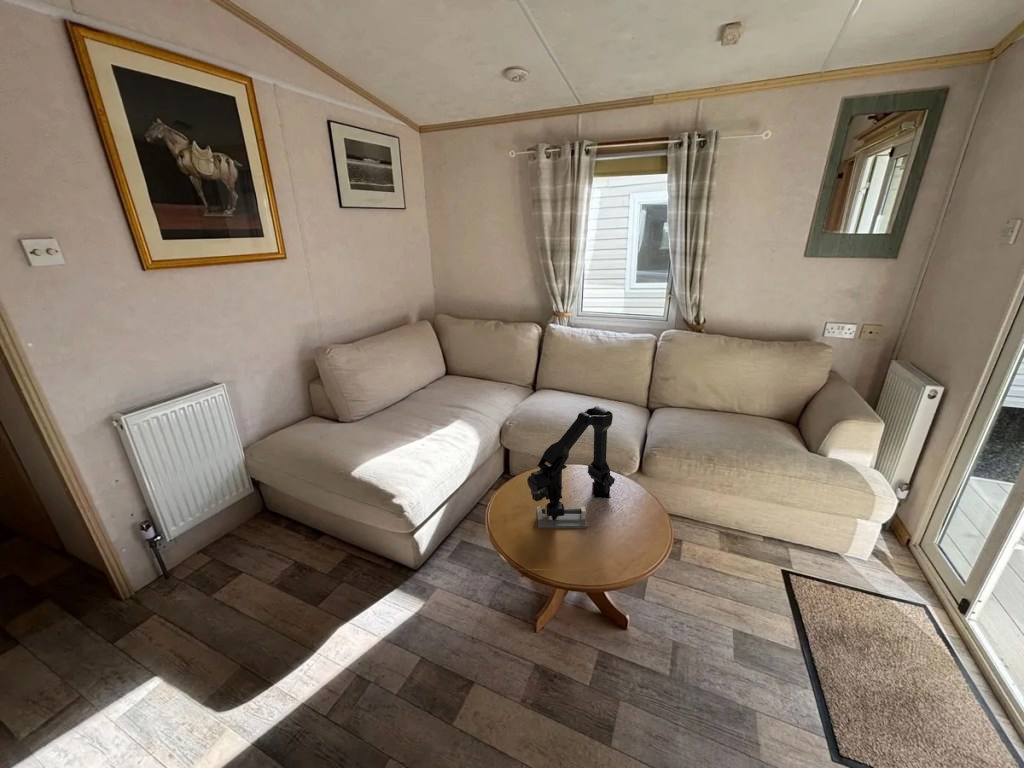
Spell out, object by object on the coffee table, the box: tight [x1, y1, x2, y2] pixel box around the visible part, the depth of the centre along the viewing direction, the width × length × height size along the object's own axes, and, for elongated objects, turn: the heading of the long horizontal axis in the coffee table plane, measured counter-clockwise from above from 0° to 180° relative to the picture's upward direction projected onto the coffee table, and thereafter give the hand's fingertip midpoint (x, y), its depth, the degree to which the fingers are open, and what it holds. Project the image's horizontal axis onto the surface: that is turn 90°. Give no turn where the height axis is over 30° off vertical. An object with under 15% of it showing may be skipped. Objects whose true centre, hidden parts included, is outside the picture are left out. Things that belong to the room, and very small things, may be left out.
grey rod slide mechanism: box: [536, 505, 588, 529], centre depth 150 cm, size 18×10×5 cm, turn 88°
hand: (553, 515), depth 151 cm, fingers closed on sleeve, 4 cm apart
